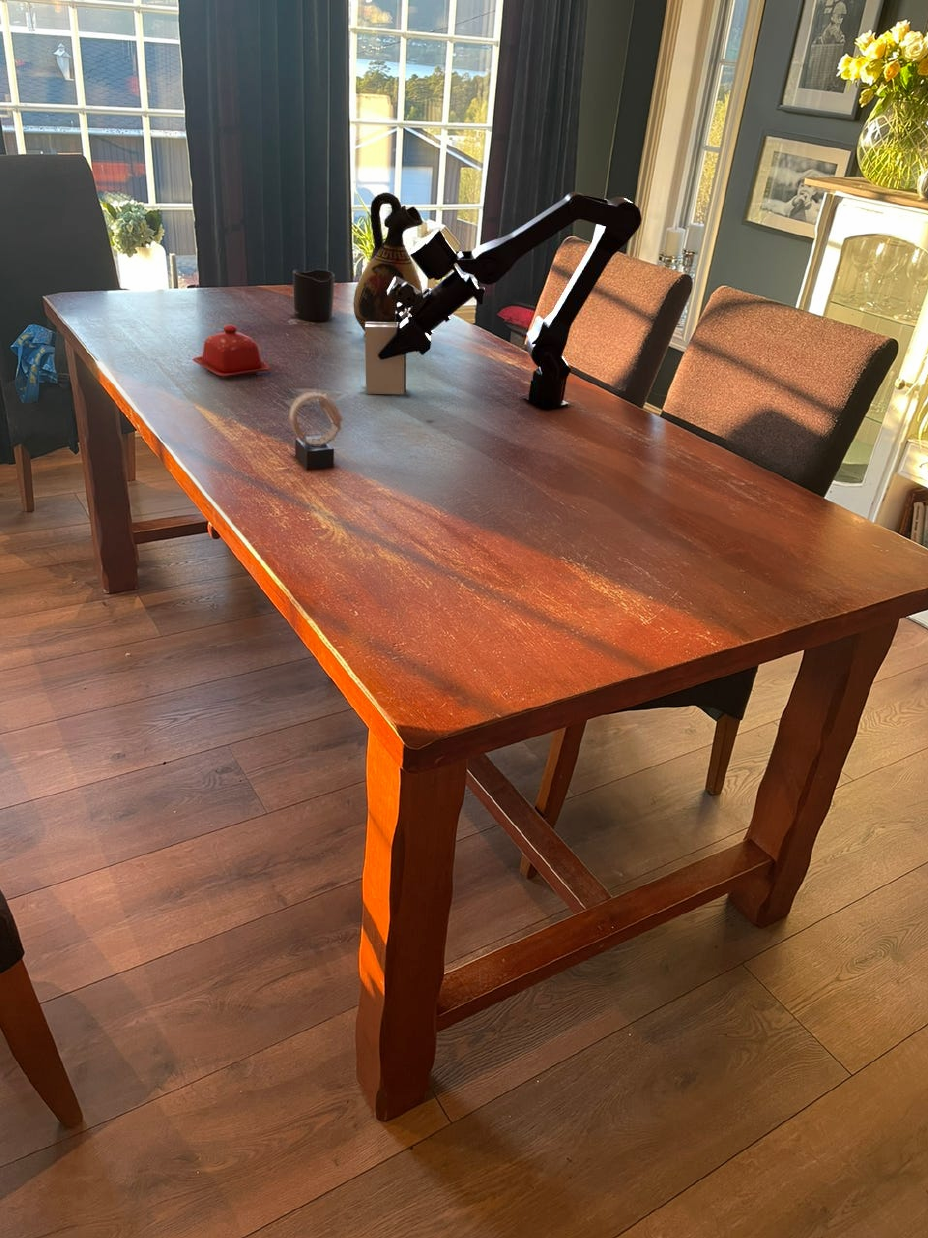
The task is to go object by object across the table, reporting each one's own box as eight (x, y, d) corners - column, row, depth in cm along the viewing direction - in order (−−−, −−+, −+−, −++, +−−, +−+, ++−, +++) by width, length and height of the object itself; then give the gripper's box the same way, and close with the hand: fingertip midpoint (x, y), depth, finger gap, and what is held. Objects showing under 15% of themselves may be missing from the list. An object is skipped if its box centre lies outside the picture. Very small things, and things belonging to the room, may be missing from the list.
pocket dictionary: (405, 388, 180) (405, 322, 174) (405, 394, 177) (406, 327, 171) (366, 387, 180) (365, 321, 173) (366, 393, 177) (364, 326, 170)
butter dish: (219, 382, 174) (217, 336, 169) (189, 364, 181) (187, 319, 176) (273, 374, 181) (273, 330, 176) (242, 358, 188) (242, 314, 183)
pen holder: (299, 309, 224) (299, 266, 219) (337, 315, 223) (339, 271, 218) (287, 319, 216) (287, 273, 211) (327, 324, 215) (328, 279, 210)
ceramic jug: (434, 342, 212) (447, 199, 196) (394, 355, 200) (404, 203, 185) (374, 325, 219) (381, 186, 203) (332, 336, 207) (336, 189, 192)
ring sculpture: (345, 466, 146) (348, 398, 141) (295, 471, 143) (296, 401, 137) (332, 453, 150) (334, 386, 145) (284, 457, 147) (284, 388, 141)
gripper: (413, 253, 175) (350, 307, 179) (418, 275, 159) (349, 333, 163) (450, 300, 180) (388, 352, 184) (459, 326, 164) (390, 382, 169)
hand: (379, 353), depth 175 cm, fingers closed on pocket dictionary, 4 cm apart
